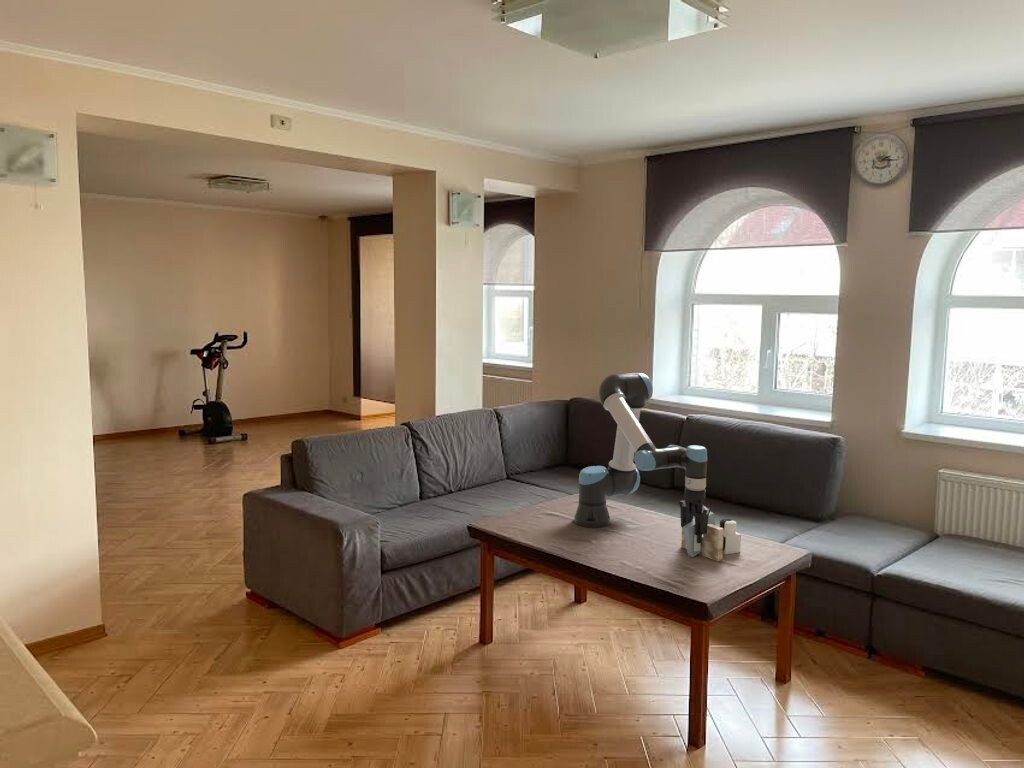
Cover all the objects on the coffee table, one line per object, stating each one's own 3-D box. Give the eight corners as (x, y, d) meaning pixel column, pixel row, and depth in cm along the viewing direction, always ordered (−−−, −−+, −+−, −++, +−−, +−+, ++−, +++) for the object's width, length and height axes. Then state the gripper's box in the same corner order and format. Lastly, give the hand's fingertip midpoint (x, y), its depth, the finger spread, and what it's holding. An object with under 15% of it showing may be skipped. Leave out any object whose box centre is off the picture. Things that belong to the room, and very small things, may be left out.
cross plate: (692, 557, 274) (687, 528, 271) (687, 555, 276) (682, 526, 273) (718, 540, 281) (713, 512, 278) (713, 538, 283) (708, 511, 280)
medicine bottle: (713, 548, 284) (714, 518, 282) (729, 546, 286) (730, 516, 285) (724, 554, 277) (726, 523, 275) (740, 552, 279) (742, 521, 278)
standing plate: (681, 546, 285) (682, 516, 284) (685, 545, 287) (686, 515, 285) (717, 561, 270) (719, 529, 269) (722, 560, 272) (723, 528, 270)
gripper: (671, 484, 277) (669, 544, 280) (705, 494, 264) (702, 557, 267) (686, 481, 281) (683, 541, 284) (719, 491, 268) (716, 553, 271)
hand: (692, 549), depth 276 cm, fingers open, 3 cm apart
